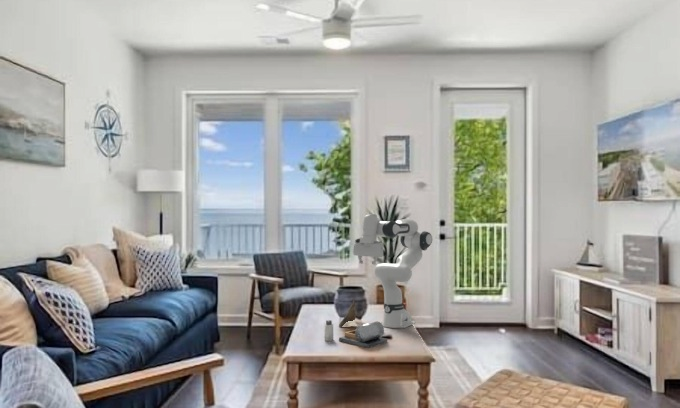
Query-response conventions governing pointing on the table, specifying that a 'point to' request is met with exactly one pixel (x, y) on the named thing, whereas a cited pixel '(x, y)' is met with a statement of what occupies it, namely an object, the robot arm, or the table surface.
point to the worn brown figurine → (349, 315)
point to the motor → (365, 335)
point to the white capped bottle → (329, 331)
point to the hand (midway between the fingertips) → (367, 263)
